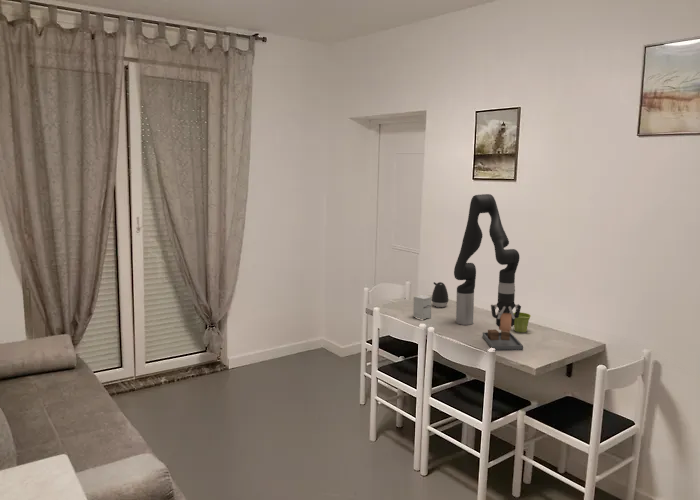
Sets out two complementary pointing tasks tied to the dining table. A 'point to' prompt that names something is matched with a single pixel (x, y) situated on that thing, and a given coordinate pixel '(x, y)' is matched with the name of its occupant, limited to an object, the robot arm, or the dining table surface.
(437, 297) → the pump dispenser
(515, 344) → the tray
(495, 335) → the walnut block
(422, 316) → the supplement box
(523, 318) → the plant pot
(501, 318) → the cylinder block
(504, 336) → the walnut block
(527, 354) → the dining table surface
